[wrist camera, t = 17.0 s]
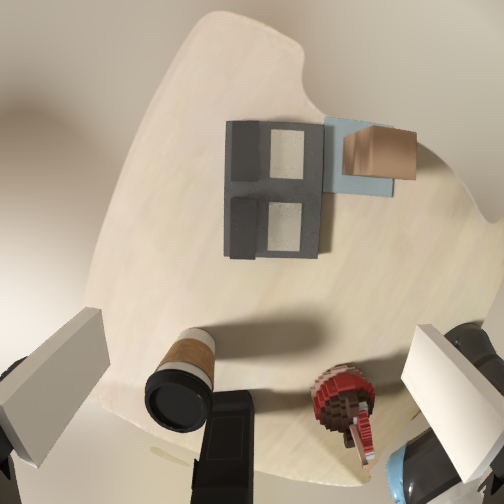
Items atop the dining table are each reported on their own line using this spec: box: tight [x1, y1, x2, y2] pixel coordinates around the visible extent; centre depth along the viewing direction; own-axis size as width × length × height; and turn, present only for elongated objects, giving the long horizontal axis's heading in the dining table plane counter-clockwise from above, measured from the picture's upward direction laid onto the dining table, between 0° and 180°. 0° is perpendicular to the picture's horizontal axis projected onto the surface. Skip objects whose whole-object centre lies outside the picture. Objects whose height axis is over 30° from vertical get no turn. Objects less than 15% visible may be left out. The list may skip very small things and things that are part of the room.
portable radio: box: [190, 390, 255, 504], centre depth 35 cm, size 8×6×25 cm
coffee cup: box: [145, 328, 215, 433], centre depth 37 cm, size 8×8×15 cm
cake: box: [311, 365, 375, 468], centre depth 38 cm, size 11×9×18 cm
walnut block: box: [342, 125, 417, 180], centre depth 32 cm, size 5×5×11 cm
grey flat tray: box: [224, 121, 324, 260], centre depth 36 cm, size 17×12×5 cm
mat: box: [322, 117, 394, 197], centre depth 37 cm, size 10×10×1 cm
